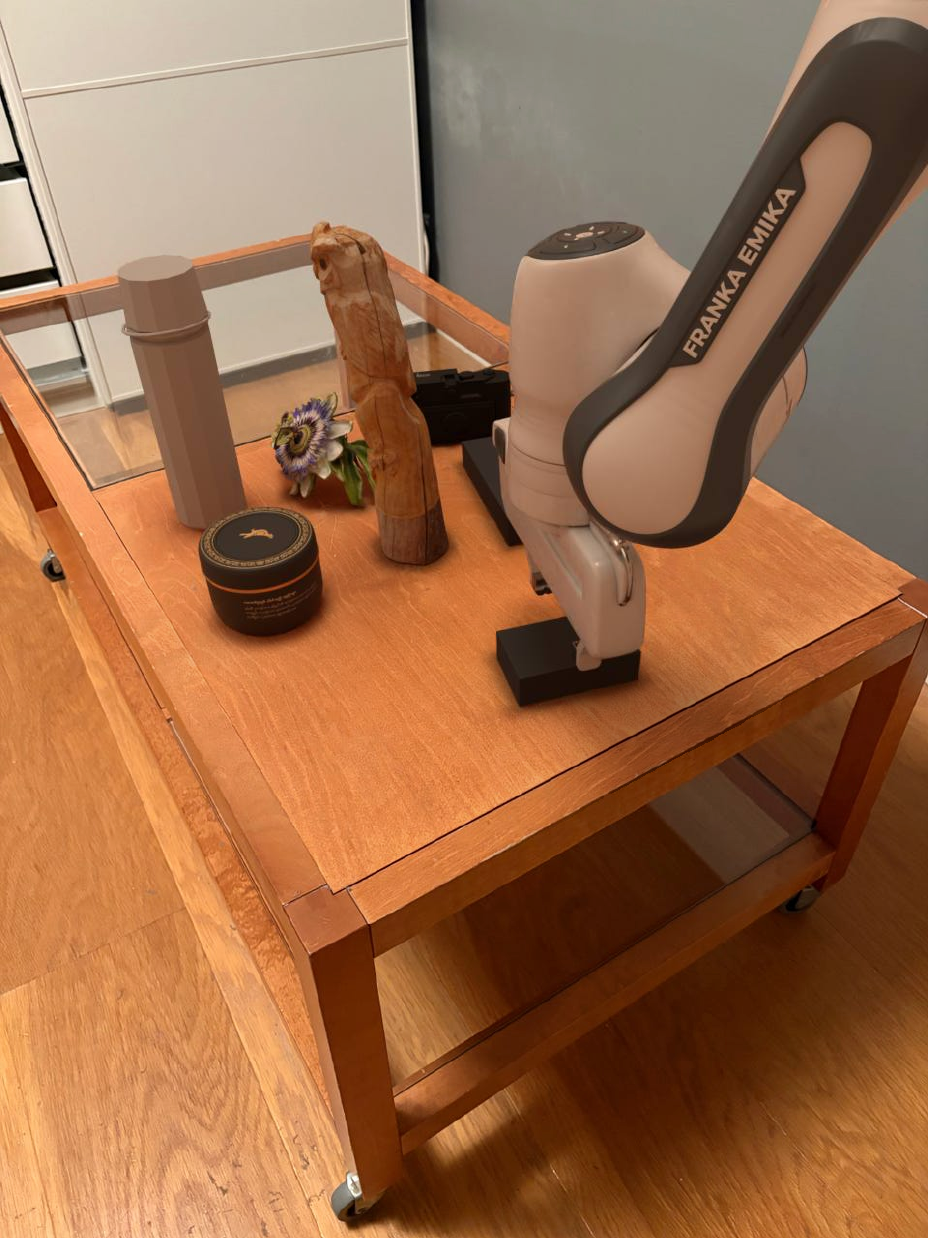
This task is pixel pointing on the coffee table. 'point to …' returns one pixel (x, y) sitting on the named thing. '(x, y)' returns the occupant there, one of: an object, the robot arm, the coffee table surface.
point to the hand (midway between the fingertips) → (563, 625)
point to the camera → (462, 403)
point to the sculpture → (382, 391)
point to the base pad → (488, 482)
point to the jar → (262, 570)
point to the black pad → (554, 663)
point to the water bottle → (182, 386)
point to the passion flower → (320, 449)
